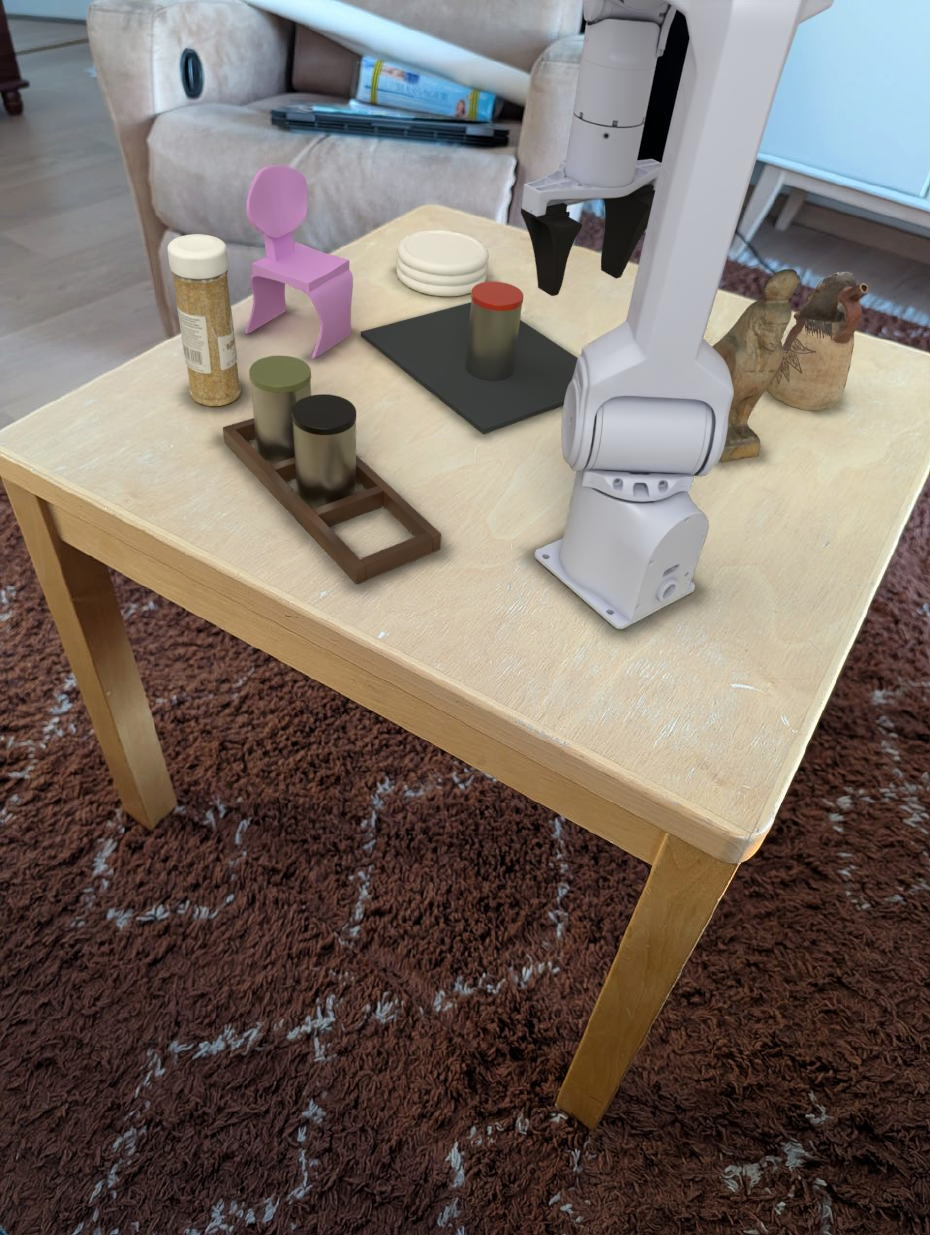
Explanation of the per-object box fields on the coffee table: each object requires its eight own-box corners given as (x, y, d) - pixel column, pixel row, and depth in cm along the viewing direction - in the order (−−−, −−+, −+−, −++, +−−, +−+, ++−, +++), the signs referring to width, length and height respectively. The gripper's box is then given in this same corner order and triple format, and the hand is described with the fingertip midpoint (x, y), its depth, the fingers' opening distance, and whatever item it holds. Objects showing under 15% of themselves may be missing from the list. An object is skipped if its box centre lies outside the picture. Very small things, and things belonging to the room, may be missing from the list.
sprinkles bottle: (250, 400, 81) (235, 250, 72) (200, 413, 79) (179, 260, 70) (229, 376, 84) (212, 228, 75) (180, 388, 82) (157, 236, 73)
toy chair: (312, 365, 86) (305, 201, 76) (237, 337, 89) (221, 175, 79) (361, 331, 92) (362, 174, 81) (290, 306, 95) (281, 150, 84)
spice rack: (440, 549, 69) (441, 534, 68) (356, 584, 65) (356, 568, 64) (302, 418, 80) (301, 403, 79) (223, 442, 77) (222, 427, 75)
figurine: (812, 371, 94) (856, 254, 85) (853, 408, 89) (904, 288, 81) (751, 377, 92) (791, 258, 83) (790, 415, 87) (836, 293, 79)
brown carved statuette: (750, 477, 83) (849, 314, 69) (696, 482, 82) (785, 316, 67) (701, 387, 90) (782, 218, 75) (650, 390, 88) (722, 219, 73)
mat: (614, 387, 88) (615, 382, 88) (483, 434, 81) (483, 429, 80) (487, 302, 99) (487, 297, 99) (360, 336, 91) (360, 331, 91)
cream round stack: (432, 251, 107) (434, 220, 105) (503, 278, 103) (507, 247, 101) (377, 277, 101) (378, 245, 98) (450, 307, 97) (453, 275, 95)
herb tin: (324, 457, 76) (322, 376, 71) (273, 474, 74) (267, 392, 69) (296, 430, 79) (292, 349, 73) (246, 445, 76) (238, 364, 71)
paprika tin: (523, 373, 88) (534, 298, 82) (485, 385, 85) (493, 309, 80) (493, 351, 90) (501, 277, 85) (455, 363, 88) (461, 287, 83)
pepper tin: (368, 499, 73) (368, 417, 67) (315, 518, 70) (312, 435, 65) (336, 469, 75) (335, 387, 70) (285, 487, 73) (279, 404, 68)
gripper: (638, 92, 78) (608, 250, 88) (506, 111, 72) (489, 280, 81) (699, 117, 75) (660, 279, 84) (565, 140, 68) (540, 314, 77)
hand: (580, 282), depth 82 cm, fingers open, 7 cm apart
